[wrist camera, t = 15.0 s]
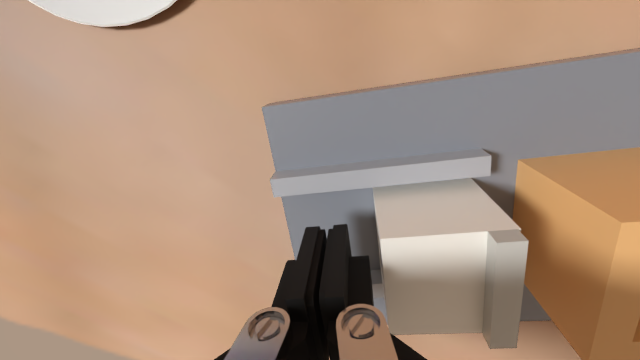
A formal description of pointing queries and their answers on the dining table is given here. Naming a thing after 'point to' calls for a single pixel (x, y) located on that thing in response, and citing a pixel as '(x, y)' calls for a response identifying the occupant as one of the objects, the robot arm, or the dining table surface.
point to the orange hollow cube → (585, 247)
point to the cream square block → (450, 261)
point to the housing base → (444, 140)
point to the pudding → (104, 10)
